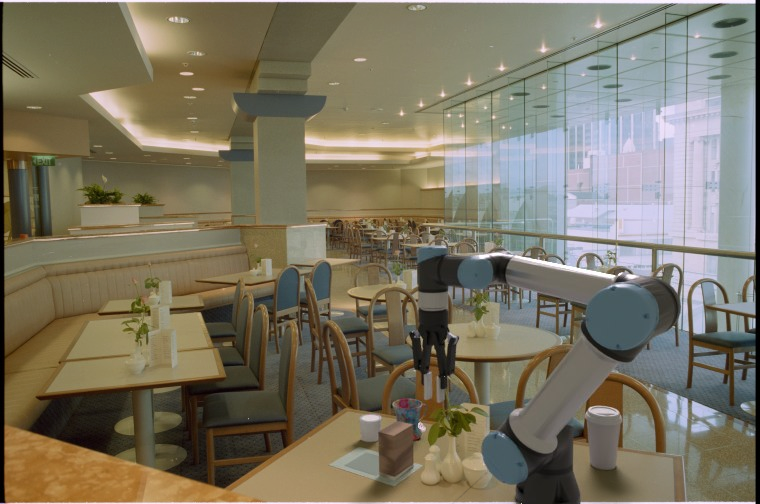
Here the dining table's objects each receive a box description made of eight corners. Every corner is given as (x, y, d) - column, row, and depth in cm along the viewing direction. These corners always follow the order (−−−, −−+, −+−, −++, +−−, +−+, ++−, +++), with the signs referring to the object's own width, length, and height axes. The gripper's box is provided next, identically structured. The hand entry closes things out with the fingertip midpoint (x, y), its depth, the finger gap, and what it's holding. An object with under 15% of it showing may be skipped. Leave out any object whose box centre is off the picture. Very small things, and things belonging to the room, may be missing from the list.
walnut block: (413, 467, 160) (412, 424, 159) (394, 480, 152) (394, 435, 151) (398, 462, 163) (397, 420, 162) (379, 475, 155) (378, 431, 154)
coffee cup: (581, 468, 158) (582, 414, 157) (587, 454, 167) (587, 402, 165) (619, 475, 154) (620, 419, 152) (623, 460, 162) (624, 407, 161)
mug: (403, 445, 175) (402, 411, 174) (387, 435, 183) (386, 402, 182) (436, 437, 181) (435, 403, 180) (419, 427, 189) (418, 394, 188)
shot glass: (356, 437, 182) (355, 415, 181) (376, 433, 184) (375, 412, 184) (365, 446, 175) (364, 423, 175) (385, 441, 178) (385, 419, 178)
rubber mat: (423, 467, 161) (423, 465, 161) (394, 488, 150) (394, 485, 150) (359, 448, 174) (359, 446, 174) (328, 466, 162) (328, 464, 162)
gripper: (469, 308, 145) (469, 401, 147) (414, 302, 154) (415, 390, 156) (454, 313, 139) (455, 410, 141) (398, 307, 148) (399, 398, 150)
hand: (434, 399), depth 149 cm, fingers open, 3 cm apart
